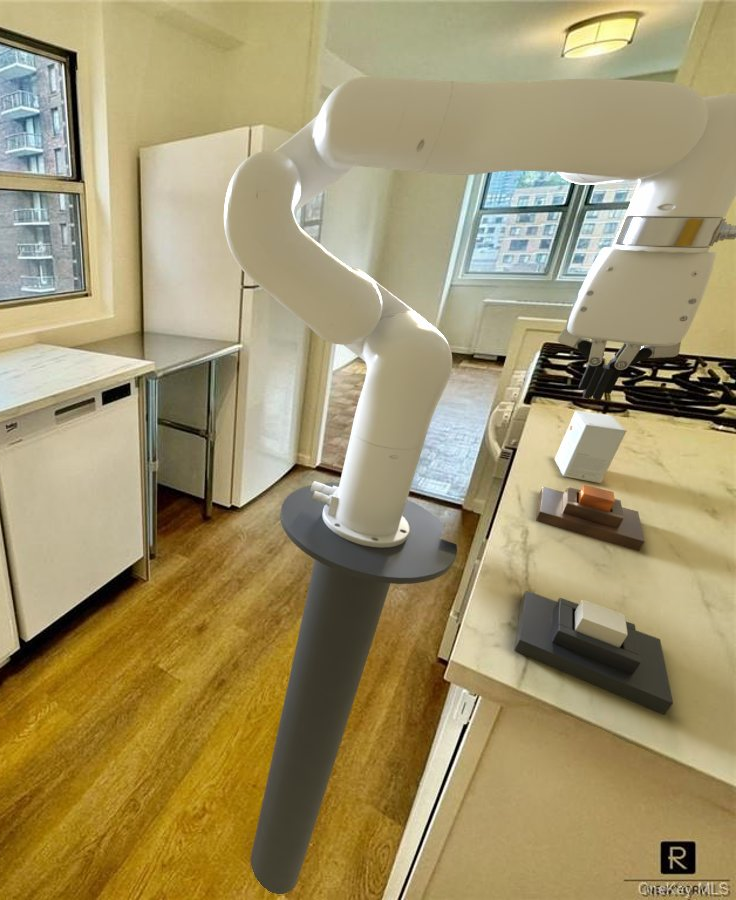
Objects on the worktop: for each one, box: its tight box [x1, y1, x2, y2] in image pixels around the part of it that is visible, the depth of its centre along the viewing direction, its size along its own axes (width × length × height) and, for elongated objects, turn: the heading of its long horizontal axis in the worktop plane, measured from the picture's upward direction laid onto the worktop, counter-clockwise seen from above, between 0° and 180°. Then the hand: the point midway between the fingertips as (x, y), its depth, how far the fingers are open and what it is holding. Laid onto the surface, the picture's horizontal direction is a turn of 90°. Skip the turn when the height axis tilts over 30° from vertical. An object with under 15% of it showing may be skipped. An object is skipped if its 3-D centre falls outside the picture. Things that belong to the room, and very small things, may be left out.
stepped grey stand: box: [514, 590, 674, 715], centre depth 53 cm, size 12×10×4 cm
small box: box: [554, 410, 627, 484], centre depth 88 cm, size 8×6×10 cm
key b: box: [578, 484, 616, 512], centre depth 74 cm, size 4×4×2 cm
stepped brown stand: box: [535, 486, 646, 552], centre depth 75 cm, size 12×10×4 cm
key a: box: [574, 599, 628, 648], centre depth 52 cm, size 4×4×2 cm
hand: (591, 396), depth 60 cm, fingers closed
